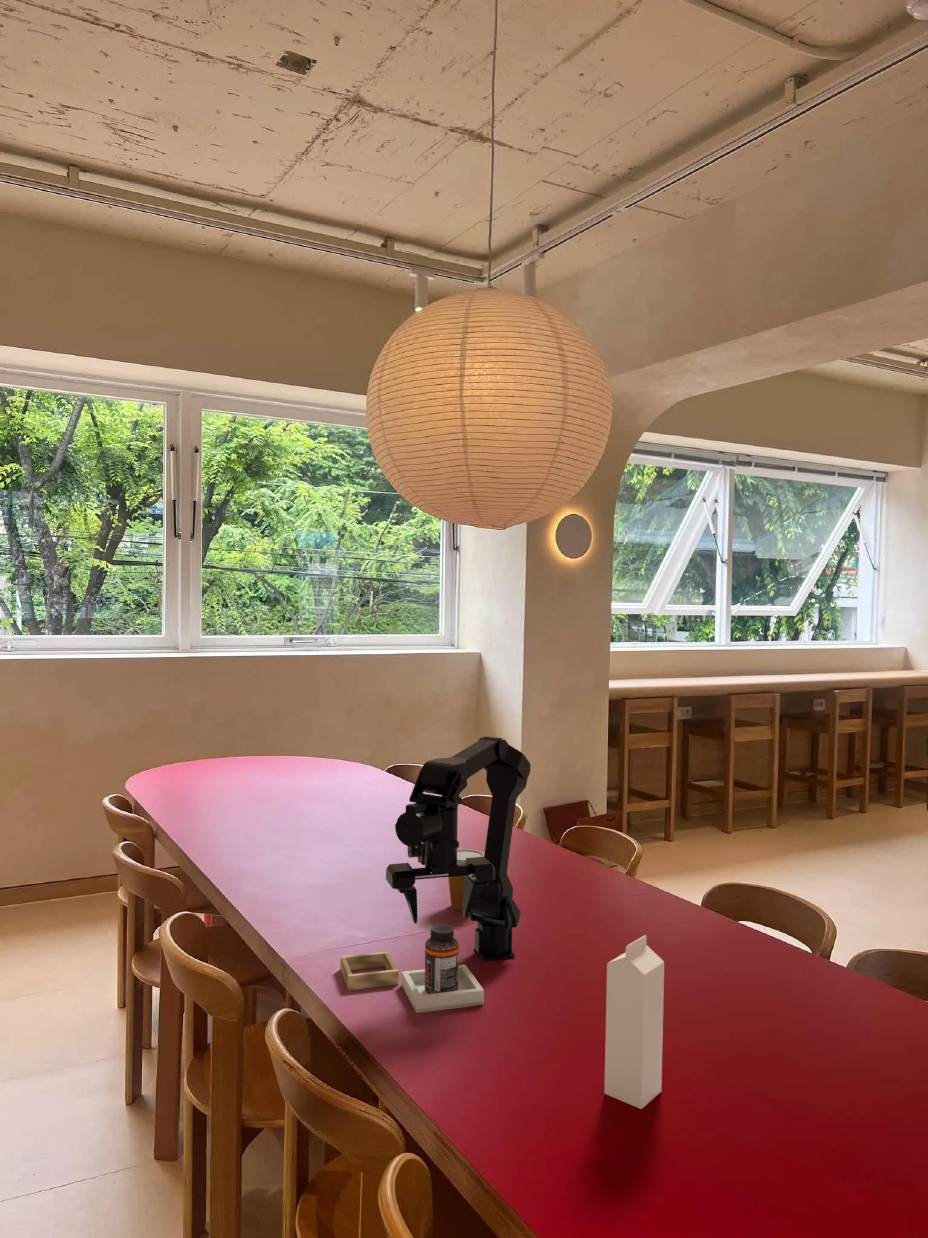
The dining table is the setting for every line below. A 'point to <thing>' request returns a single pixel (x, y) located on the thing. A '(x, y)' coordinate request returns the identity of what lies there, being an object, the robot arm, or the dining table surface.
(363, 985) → the collar
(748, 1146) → the dining table surface
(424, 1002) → the tray
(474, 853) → the disposable coffee cup
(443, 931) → the supplement bottle
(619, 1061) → the milk
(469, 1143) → the dining table surface
